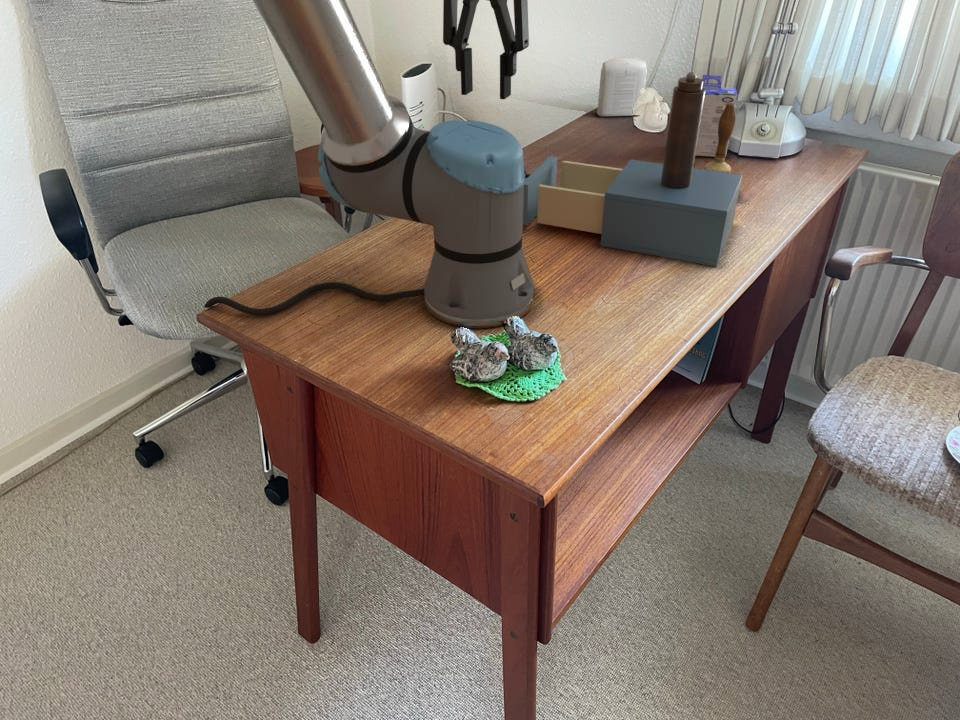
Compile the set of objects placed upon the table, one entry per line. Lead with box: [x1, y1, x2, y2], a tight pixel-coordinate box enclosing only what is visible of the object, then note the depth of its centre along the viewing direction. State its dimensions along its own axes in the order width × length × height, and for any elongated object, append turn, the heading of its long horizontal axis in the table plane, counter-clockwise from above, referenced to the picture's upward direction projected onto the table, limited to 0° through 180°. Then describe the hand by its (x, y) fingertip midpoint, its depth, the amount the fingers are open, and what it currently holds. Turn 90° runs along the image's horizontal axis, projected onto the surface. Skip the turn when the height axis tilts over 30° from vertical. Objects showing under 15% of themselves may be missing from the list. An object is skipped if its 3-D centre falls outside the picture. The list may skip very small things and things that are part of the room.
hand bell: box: [703, 103, 737, 173], centre depth 124 cm, size 8×8×16 cm
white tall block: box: [596, 56, 648, 117], centre depth 163 cm, size 10×4×12 cm, turn 93°
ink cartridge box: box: [695, 74, 738, 158], centre depth 142 cm, size 10×6×14 cm, turn 78°
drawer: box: [523, 155, 624, 235], centre depth 119 cm, size 21×14×7 cm, turn 66°
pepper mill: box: [661, 71, 706, 189], centre depth 106 cm, size 4×4×16 cm
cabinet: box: [599, 159, 743, 267], centre depth 113 cm, size 18×15×9 cm
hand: (486, 94), depth 116 cm, fingers open, 6 cm apart
